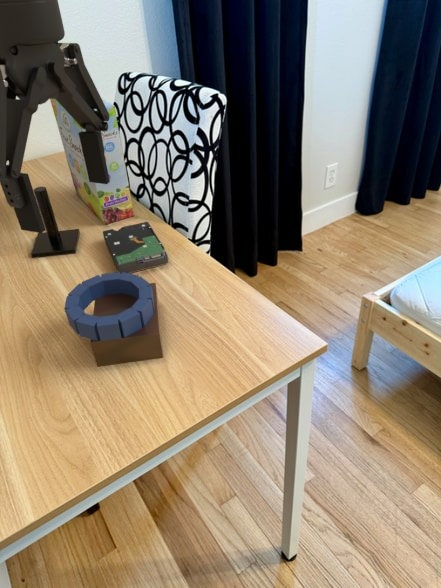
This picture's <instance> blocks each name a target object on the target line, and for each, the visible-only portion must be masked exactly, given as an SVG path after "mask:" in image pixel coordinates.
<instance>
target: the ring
mask: <svg viewBox="0 0 441 588" xmlns="http://www.w3.org/2000/svg"><path fill="white" fill-rule="evenodd" d="M150 283H151V282H148V281H147V280H146V279H145V278H144V277H142V276H139V275H138V274H134V273H125V272H122V273H121V274H120V272H118V271H117V272H108V273H102V274H101V275H100V274H98V275H94V276H92V277H89V278H88V279H85V280H82V281H81V283H78V284H77V285H76V286H75V287H74V288H72V290H71V291H69V293H68V294H67V295H66V297H65V303H64V306H63V307H64V309H63V310H64V312H65V315H66V319H67V322H68V324H69V327H70V328H72V330H73V332H74V333H75V334H76V335H77V336H79V337H80V338H84V339H88V340H95V341H98V340H99V339H100V340H101V341H106V340H114V339H121V338H122V335H123V336H124V337H127V336H129V335H131V334H133V333H135V332H136V331H138V330H140V329H142V326H145V325H146V324H147V323H148V321H149V320H150V319H151V317H152V316H153V315H154V313H153V312H155V310H154V299H153V292H152V287H151V284H150ZM120 293H122V294H126V295H131V296H134V297H135V298H136V299H137V301H136V302H135V304H134V305H133V306H132V307H131V308H129V309H127V310H125V311H123V312H121V313H119V314H117V315H111V316H103V317H98V316H94V315H93V314H89V313H86V312H85V310H86V309H87V308H88V307H89V306H90V305H91V304H92V303H93V302H95V300H97V299H99V298H101V297H103V296H106V295H112V294H120Z"/></svg>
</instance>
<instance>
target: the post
mask: <svg viewBox="0 0 441 588" xmlns="http://www.w3.org/2000/svg"><path fill="white" fill-rule="evenodd" d="M33 191H34V195H35V198H36V201H37V204H38V207H39V210H40V214H41V217H42V220H43V223H44V226H45V229H46V230H45V231H44V232H42V233H37V235H36V238H35V240H34V243H33V246H32V249H31V251H30V256H31V258H32V259H34V258H36V259H37V258H42V257H43V258H45V257H52V256H62V255H71V254H76V253H77V248H78V245H79V244H78V243H79V237H80V233H81V231H80V229H79V228H74V229H64V230H59V227H58V223H57V219H56V217H55V213H54V210H53V206H52V203H51V200H50V196H49V193H48V189H47V187H46V186H37V187H35V188H33Z"/></svg>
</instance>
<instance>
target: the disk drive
mask: <svg viewBox="0 0 441 588" xmlns="http://www.w3.org/2000/svg"><path fill="white" fill-rule="evenodd" d="M102 234H103V239H104V243H105V245H106V247H107V249H108V252H109V254H110V256H111V259H112V261H113V264H114V267H115V269H116V270H117V272H120V274H121V273H122V272H125V273H130V274H132V273H135V272H138V271H143V270H146V269H152V268H155V267H159V266H163V265H165V264H168V263H169V256H168V254H167V251H166V248H165V246H164V245H163V244H162V242H161V240H160V239H159V238H158V235H157V234H156V233H155V231H154V229H153V228H152V226H151V224H150V223H149V221H144V222H139V223H136V224H129V225H125V226H122V227H121V228H119V229H118V230H117V229H116V230H115V229H113V228H111V229H107V230H103V231H102Z"/></svg>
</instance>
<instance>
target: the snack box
mask: <svg viewBox="0 0 441 588" xmlns="http://www.w3.org/2000/svg"><path fill="white" fill-rule="evenodd" d="M49 100H50V101H49V102H50V104H51V108H52V111H53V115H54V118H55V122H56V125H57V129H58V132H59V137H60V140H61V143H62V146H63V149H64V154H65V158H66V162H67V165H68V170H69V173H70V176H71V179H72V183H73V187H74V191H75V194H76V195H77V196H78V197H79V198H80V199H81V200H82V201H83V202H84V204H86V206H87V207H88V208H89V209H90V210H91V211H92V212H93V213H94V214H95V215H96V216H97V218H98V219H99V220H100V221H101V222H102V223H103V225H109V224H112V223H115V222H118V221H122V220H124V219H128V218H132V217H135V215H136V214H135V211H134V204H133V199H132V195H131V188H130V183H129V178H128V173H127V167H126V161H125V157H124V156H125V155H124V151H123V146H122V139H121V133H120V128H119V123H118V118H117V113H116V106H115V105H114V104H113V103H111V102H109V101H108V100H106V99H105V98H102V101H103V103H104V105H105V107H106V109H107V111H108V113H109V116H110V118H109V121H104V122H107V123H108V130H107V131H101V134H102V139H103V146H104V150H105V154H104V155H105V160H106V165H107V170H108V175H109V180H110V182H109V183H108V184H101V183H93V182H89V177H88V173H87V168H86V164H85V160H84V155H83V151H82V146H81V142H80V138H79V132H81V131H86V130H84V129H83V128H82V127H81V126H80V125H79V124H78V123H77V122H76V121H75V120H74V119H73V118H72V116H71V115H70V114H69V113H68V112H67V111H66V110H65V109H64V108H63V107H62V106H61V104H60V103H59V102H58V101H57V100H56V99H49ZM94 110H95V111H97V109H94Z"/></svg>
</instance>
